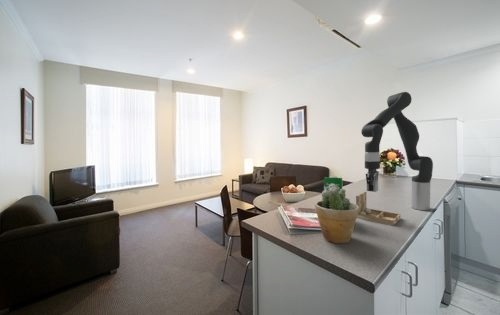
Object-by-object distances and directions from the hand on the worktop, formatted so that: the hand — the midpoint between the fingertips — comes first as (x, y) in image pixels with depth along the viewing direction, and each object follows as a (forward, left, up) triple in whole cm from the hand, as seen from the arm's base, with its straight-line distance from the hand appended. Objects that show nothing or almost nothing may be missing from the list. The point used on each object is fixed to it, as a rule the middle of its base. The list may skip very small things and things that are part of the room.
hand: (372, 190), depth 121 cm
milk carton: (+18, -14, -16) cm, 28 cm away
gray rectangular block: (0, 0, 0) cm, 0 cm away
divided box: (0, +3, -16) cm, 16 cm away
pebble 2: (-4, -4, -14) cm, 15 cm away
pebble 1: (+4, -4, -14) cm, 15 cm away
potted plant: (+39, -3, -16) cm, 42 cm away
